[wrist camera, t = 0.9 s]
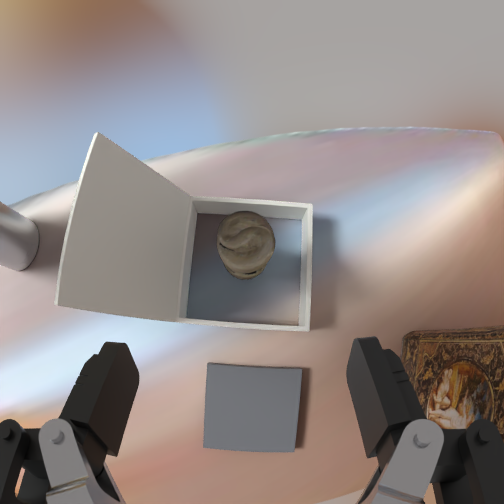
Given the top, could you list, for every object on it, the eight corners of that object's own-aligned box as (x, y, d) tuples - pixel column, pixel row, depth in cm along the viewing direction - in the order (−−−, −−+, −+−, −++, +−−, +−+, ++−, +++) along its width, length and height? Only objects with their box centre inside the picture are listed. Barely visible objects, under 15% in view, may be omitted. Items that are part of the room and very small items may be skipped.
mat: (204, 443, 34) (203, 447, 33) (208, 362, 37) (207, 363, 36) (292, 448, 34) (294, 452, 33) (300, 367, 37) (302, 369, 36)
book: (403, 330, 38) (538, 319, 14) (431, 331, 38) (563, 319, 14) (385, 436, 34) (494, 504, 10) (415, 432, 34) (526, 485, 10)
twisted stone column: (274, 273, 40) (290, 242, 26) (241, 296, 39) (238, 279, 25) (250, 240, 41) (252, 193, 27) (217, 262, 40) (201, 226, 26)
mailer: (133, 316, 38) (52, 304, 20) (148, 207, 42) (93, 132, 24) (302, 331, 38) (351, 333, 20) (305, 216, 42) (345, 139, 24)
